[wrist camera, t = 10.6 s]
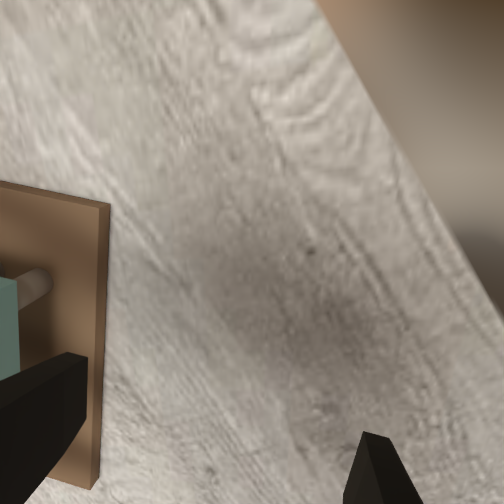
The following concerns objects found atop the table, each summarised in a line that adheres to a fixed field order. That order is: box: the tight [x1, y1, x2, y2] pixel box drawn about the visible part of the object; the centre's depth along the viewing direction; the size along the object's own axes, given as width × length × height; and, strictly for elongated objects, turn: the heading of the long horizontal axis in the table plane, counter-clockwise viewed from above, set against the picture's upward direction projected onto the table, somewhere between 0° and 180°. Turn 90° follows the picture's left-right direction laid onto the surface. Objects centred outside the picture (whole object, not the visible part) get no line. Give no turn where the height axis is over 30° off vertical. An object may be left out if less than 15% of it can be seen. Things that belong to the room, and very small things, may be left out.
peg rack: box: [0, 181, 110, 490], centre depth 22 cm, size 18×9×4 cm, turn 170°
